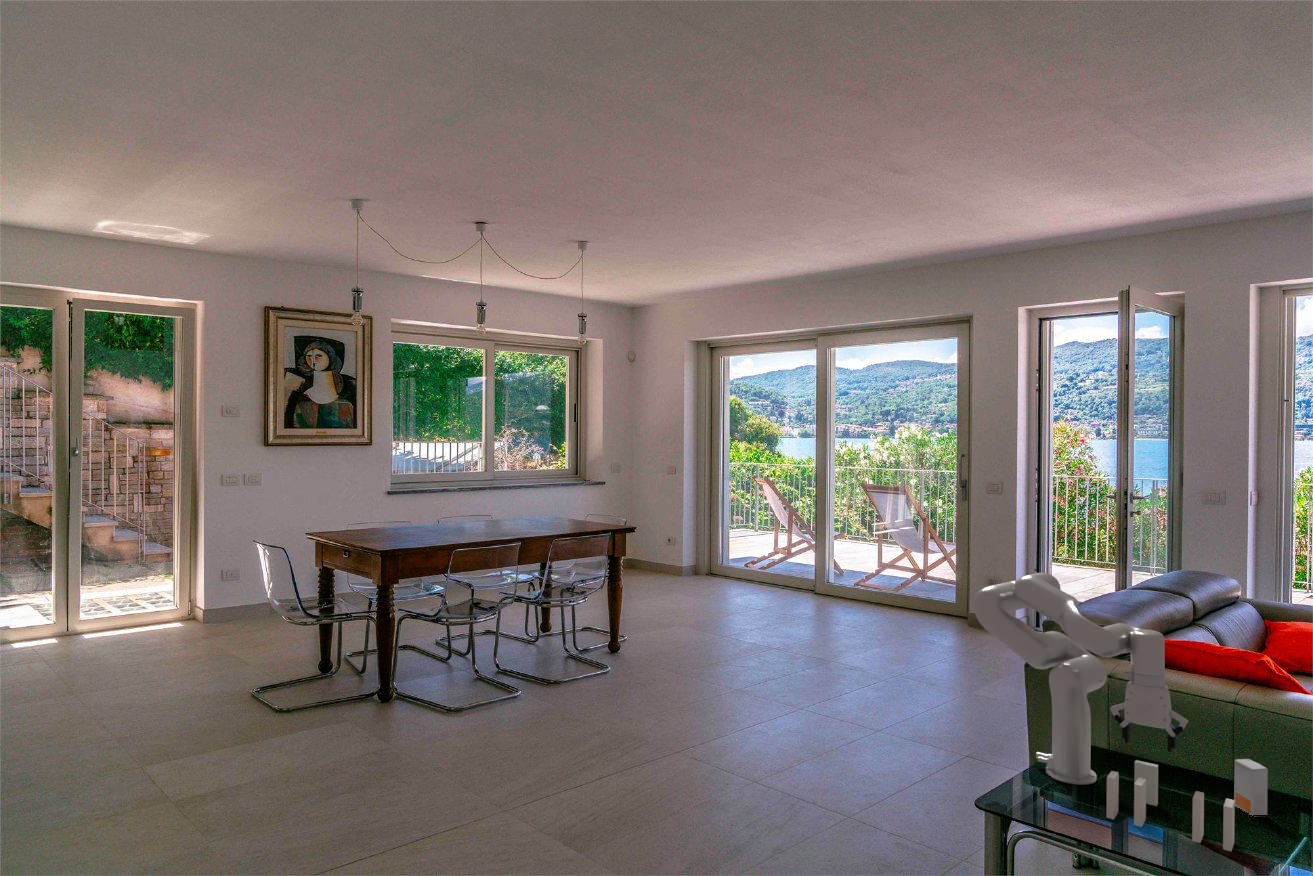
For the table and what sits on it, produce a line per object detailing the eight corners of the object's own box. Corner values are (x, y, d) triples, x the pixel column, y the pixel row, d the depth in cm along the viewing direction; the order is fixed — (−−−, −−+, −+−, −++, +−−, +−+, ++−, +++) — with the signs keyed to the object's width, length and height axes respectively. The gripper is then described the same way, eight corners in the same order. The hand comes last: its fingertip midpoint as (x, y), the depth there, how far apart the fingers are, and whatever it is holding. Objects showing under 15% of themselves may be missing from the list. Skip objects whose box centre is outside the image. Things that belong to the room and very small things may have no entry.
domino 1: (1106, 817, 208) (1106, 777, 208) (1111, 810, 212) (1111, 770, 211) (1113, 819, 207) (1114, 779, 206) (1118, 812, 211) (1118, 772, 210)
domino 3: (1156, 806, 214) (1156, 767, 213) (1134, 800, 217) (1134, 761, 217) (1157, 803, 215) (1158, 765, 215) (1135, 798, 218) (1135, 760, 218)
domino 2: (1133, 825, 204) (1134, 784, 204) (1138, 817, 208) (1138, 777, 207) (1141, 827, 203) (1141, 785, 203) (1145, 819, 207) (1146, 779, 206)
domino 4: (1192, 840, 196) (1192, 798, 196) (1195, 832, 200) (1196, 791, 200) (1200, 843, 195) (1200, 800, 195) (1203, 834, 199) (1204, 792, 199)
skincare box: (1233, 805, 214) (1233, 759, 213) (1248, 805, 214) (1249, 758, 214) (1252, 817, 208) (1252, 769, 207) (1268, 816, 208) (1268, 768, 208)
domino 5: (1223, 849, 192) (1223, 806, 192) (1225, 840, 196) (1226, 798, 196) (1231, 851, 191) (1232, 808, 191) (1234, 843, 195) (1234, 800, 195)
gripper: (1106, 676, 218) (1107, 742, 218) (1185, 689, 206) (1185, 758, 207) (1113, 670, 223) (1114, 734, 224) (1189, 681, 212) (1190, 749, 212)
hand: (1148, 746), depth 215 cm, fingers open, 9 cm apart
